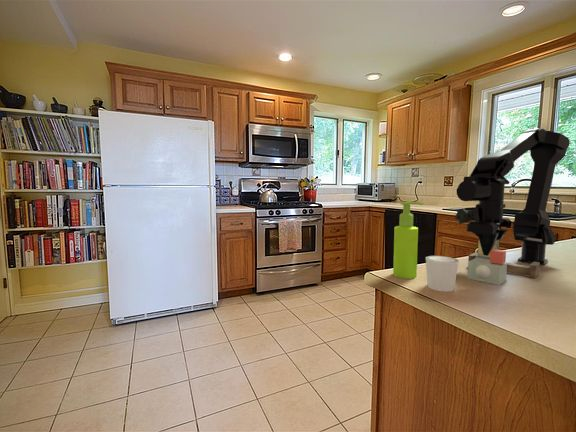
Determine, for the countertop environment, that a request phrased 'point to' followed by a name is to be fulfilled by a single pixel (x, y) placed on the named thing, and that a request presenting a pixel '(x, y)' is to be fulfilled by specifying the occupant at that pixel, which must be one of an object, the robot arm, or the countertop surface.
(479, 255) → the carriage
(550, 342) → the countertop surface
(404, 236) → the soap dispenser
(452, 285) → the white cup
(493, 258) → the red cube
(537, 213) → the robot arm
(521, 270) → the brown i-shaped bar
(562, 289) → the countertop surface
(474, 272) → the cabinet
